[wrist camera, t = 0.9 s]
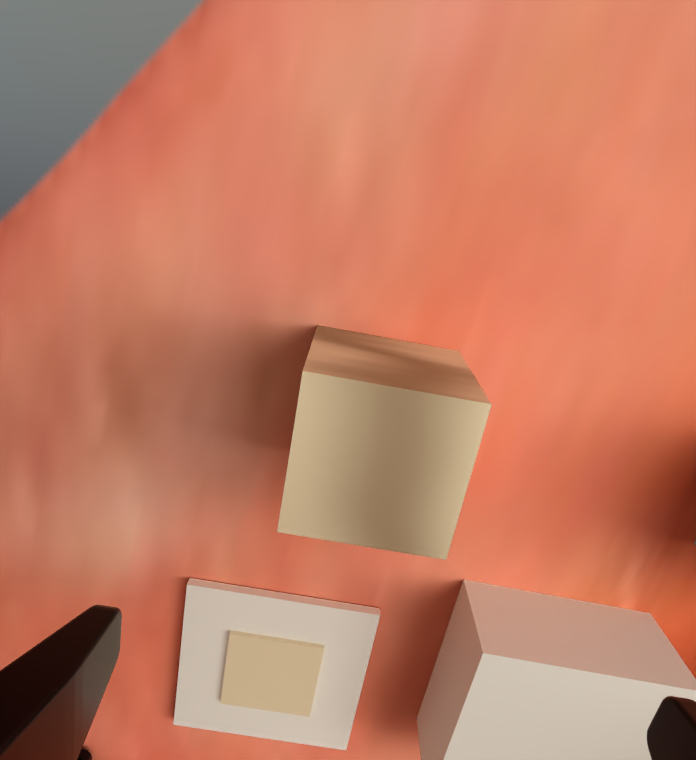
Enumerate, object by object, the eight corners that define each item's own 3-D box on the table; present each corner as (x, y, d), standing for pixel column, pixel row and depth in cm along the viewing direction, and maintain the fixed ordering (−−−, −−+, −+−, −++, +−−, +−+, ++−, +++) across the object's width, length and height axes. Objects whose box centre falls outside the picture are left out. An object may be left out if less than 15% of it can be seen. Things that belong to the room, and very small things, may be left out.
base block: (416, 712, 25) (425, 806, 21) (462, 574, 22) (483, 653, 18) (581, 740, 25) (620, 838, 21) (646, 608, 22) (704, 692, 19)
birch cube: (296, 451, 20) (277, 531, 15) (317, 324, 18) (302, 370, 14) (426, 473, 20) (446, 559, 16) (458, 350, 19) (491, 404, 14)
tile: (176, 716, 25) (172, 728, 24) (189, 577, 22) (185, 588, 21) (346, 741, 25) (346, 754, 24) (379, 608, 22) (380, 619, 22)
